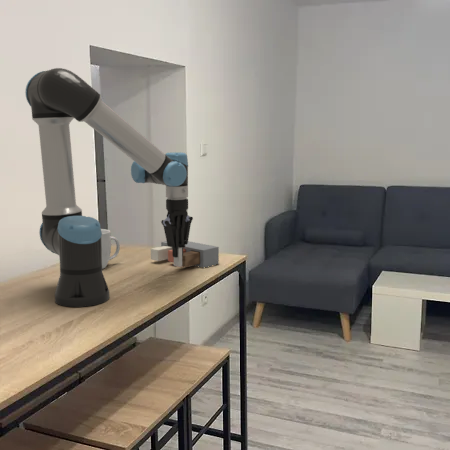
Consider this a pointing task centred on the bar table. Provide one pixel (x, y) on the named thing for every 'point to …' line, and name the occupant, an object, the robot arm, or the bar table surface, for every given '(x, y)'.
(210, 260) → the socket block
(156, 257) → the cream peg
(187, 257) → the walnut peg
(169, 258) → the brick peg
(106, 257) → the mug
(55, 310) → the bar table surface
